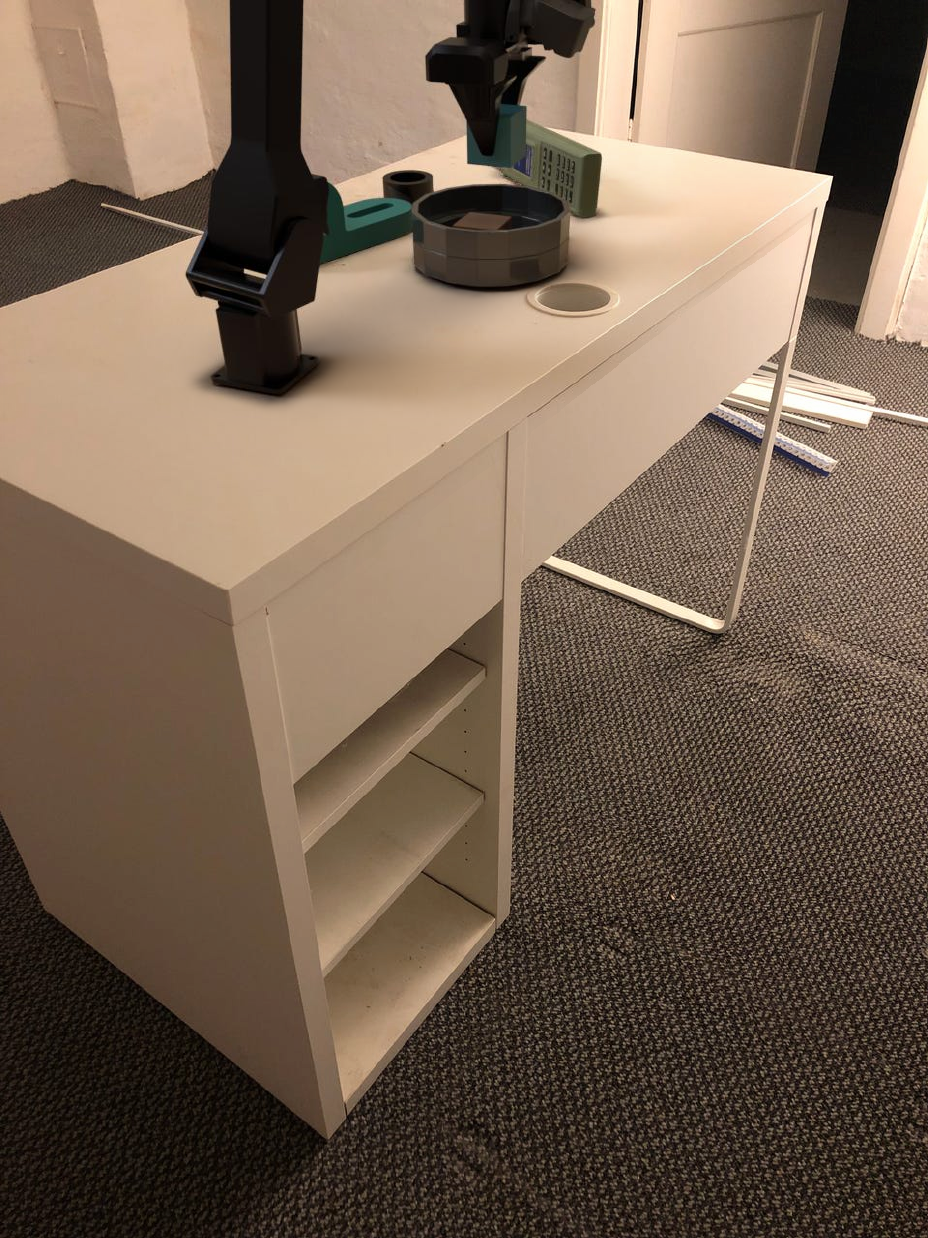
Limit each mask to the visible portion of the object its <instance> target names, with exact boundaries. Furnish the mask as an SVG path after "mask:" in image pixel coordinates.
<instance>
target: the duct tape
mask: <svg viewBox="0 0 928 1238" xmlns="http://www.w3.org/2000/svg"><path fill="white" fill-rule="evenodd" d="M381 181H382V193H383V194H382V195H383V198H394V199H400V200H404V201H407V202H409V203H410V204H411V205H413V203H414V202H415V201H417V200H418V199H420V198H421V197H423V196H424V195H425V194H429V193H432V192H435V191H434V190H435V189H434V175H433V174H432V173H430V172H428V171H424V170H415V169H405V170H404V169H403V170H395V171H391V172H388V173H385V174H384V175H383V176H382V180H381Z"/></svg>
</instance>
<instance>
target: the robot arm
mask: <svg viewBox="0 0 928 1238" xmlns="http://www.w3.org/2000/svg"><path fill="white" fill-rule="evenodd" d="M596 10H597V9H596V8H594V7H592V0H463V21H462V22H460V23H457V24H456V26H455V31H456V32H455V33H456V36H449V37H447V38H445V39H443V40H441V41H438V42H436V43H434V44H433V46H432V47H431V48H430V49H429V50H428V52H427V53H426V55H425V57H424V58H425V59H424V60H425V81H427V82H428V83H437V84H438V83H439V84H445V85H446V86H448V87H449V89H450V91H451V93H452V94H453V97H454V98H455V100H456V102H457V105H458V107H459V108H460V110H461V113H462V114H463V117H464V119H465V122H466V121H467V123H468V126H469V128H470V130H471V132H472V135H473V137H474V139H475V141H476V144H477V146H478V148H479V150H480V153H481V154H482V155H483V156H492V155H493V154H494V149H495V143H496V136H497V128H498V120H499V112H500V104H506V105H520V106H521V103H522V99H523V95H524V92H525V89H526V84H527V81H528V79H529V78H530V76H531V75H532V74H533V73H534V72H535V71H536V70H537V69H538V68H539V67H541V65H542V64H543V63H544V62H546V59H547V57H546V56H544V55H533V46H539V45H541V46H542V47H543V50H544V51H549V52H550V51H552V52H553V54H555V55H557V56H559V57H562V58H565V59H572V58H573V57H574V56H575V55H576V54H577V53H581V52H582V51H583V48H584V45H585V43H586V40H587V37H588V35H589V32H590V29H592V28H593V27H594V26H595V25H596V19H595V15H596ZM303 44H304V0H229V55H230V56H229V61H230V63H229V64H230V65H229V67H230V68H229V69H230V70H229V71H230V73H229V74H230V133H231V134H230V143H229V146H228V148H227V150H226V152H225V154H224V155H223V158H222V160H221V162H220V164H219V166H218V168H217V169H216V172H215V173H214V175H213V178H212V180H211V186H210V196H209V204H208V213H207V215H208V216H207V224H206V225H205V229H204V231H203V233H202V235H201V237H200V240H199V242H198V244H197V246H196V249H195V251H194V253H193V255H192V257H191V258H190V259H191V260H190V262H189V264H188V266H187V268H186V270H185V275H184V276H185V278H186V280H187V282H188V284H189V286H190V288H191V289H192V292H193V294H194V295H195V296H196V297H199V298H206V299H210V300H213V301H216V302H217V306H218V307H217V308H215V315H216V321H217V322H216V323H217V327H218V334H219V338H220V344H221V350H222V356H223V361H224V365H223V366H222V367H221V368H219V369H218V370H217V371H215V372H214V373H212V374H211V375H210V379H211V382H212V384H217V385H223V386H227V387H232V388H233V387H234V388H237V389H238V388H239V389H245V390H251V391H255V392H261V393H266V394H271V395H282V394H284V393H285V392H287V390H289V389H290V388H291V387H293V386H294V385H295V384H296V383H298V381H299V380H301V379H302V378H303V377H305V376H306V375H307V374H308V373H309V372H311V371H312V369H313V368H315V367H316V366H317V365H319V357H318V356H317V355H311V354H305V353H302V350H303V349H302V348H303V347H302V341H301V332H300V324H299V317H298V309H300V308H302V307H305V306H307V305H309V304H311V303H313V302H315V301H316V295H317V288H318V281H319V273H320V266H321V264H320V258H321V253H322V248H323V241H324V237H323V235H326V236H328V235H329V228H328V224H327V203H328V196H329V186H328V182H329V181H328V178H327V177H326V176H324V175H319V174H314V173H312V171H311V169H310V168H309V165H308V163H307V161H306V159H305V156H304V154H303V151H302V103H303V102H302V101H303V100H302V99H303V54H304V53H303ZM529 45H531V46H529ZM245 270H247V271H251V272H254V273H258V274H262V275H265V278H264V277H260V276H257V275H253V274H250V273H246V272H245Z"/></svg>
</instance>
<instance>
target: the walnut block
mask: <svg viewBox="0 0 928 1238" xmlns="http://www.w3.org/2000/svg"><path fill="white" fill-rule="evenodd" d="M453 228H461V229H470V230H511V229H512V217H510V216H501V215H492V214H483V213H474V212H469V213H468V214H467V215H465V216H464V217H463V218H462V219H460V220H459V221H458V222H457V223H455V224H454V225H453Z"/></svg>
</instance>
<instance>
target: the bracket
mask: <svg viewBox="0 0 928 1238" xmlns="http://www.w3.org/2000/svg"><path fill="white" fill-rule="evenodd" d="M327 182H328V186H329V196H328V203H327V224H328V228H329V235H328V236H326V235H323V237H324V241H323V248H322V253H321V258H320V265H322V264H324V263H328V262H330V261H333V260H337V259H339V258H342V257H345V256H348V255H351V254H354V253H357V252H359V251H362V250H366V249H368V248H371V247H374V246H377V245H380V244H384V243H386V242H389V241H392V240H394V239H397V238H401V237H404V236H405V235H408V234H410V233H411V232H413V231H412V205H411V204H410V203H409V202H407V201H404V200H400V199H394V198H384V197H375V198H367V199H362V200H358V201H356V202H352V203H349V204H346V205H344V202H343V199H342V195H341V194H340V192H339V190H338V189H337V188H336V186H335V185H333V184H332V183H331V182H329V181H327Z"/></svg>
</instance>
